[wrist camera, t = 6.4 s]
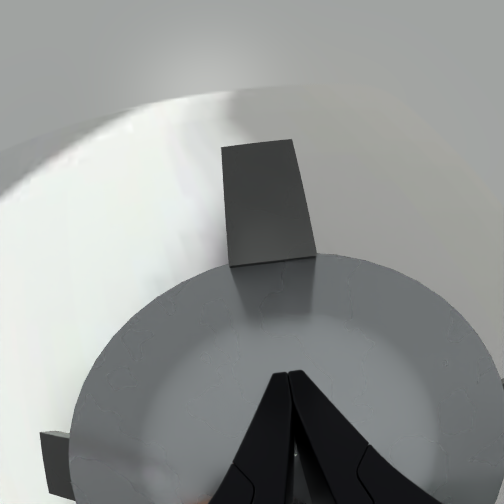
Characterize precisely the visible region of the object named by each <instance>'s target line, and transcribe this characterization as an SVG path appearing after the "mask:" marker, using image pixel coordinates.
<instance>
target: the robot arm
mask: <svg viewBox="0 0 504 504" xmlns="http://www.w3.org/2000/svg"><path fill="white" fill-rule="evenodd" d="M294 436H295V437H294ZM295 442H296V446H297V450H298V454H299V457H300V461H301V465H302V468H303V472H304V476H305V479H306V483H307V487H308V490H309V494H310V497H311V501H312V504H443V503H442V502H440V501H438V500H437V499H435V498H434V497H433V496H431V495H430V494H428V493H427V492H426V491H424V490H423V489H422V488H420V487H419V486H417V485H416V484H415V483H413V482H412V481H411V480H409V479H408V478H407V477H405V476H404V475H403V474H402V473H400V472H399V471H398V470H397V469H396V468H394V467H393V466H392V465H391V464H390V463H389V462H388V461H387V460H386V459H385V458H384V457H382V456H381V455H380V454H379V453H378V452H377V450H376V449H375V448H374V447H373V446H372V445H371V444H369V442H368V441H367V440H366V439H365V438H364V437H363V436H362V435H361V434H360V433H359V432H358V430H357V429H356V428H355V427H354V426H353V425H352V424H351V423H350V422H349V421H348V420H347V419H346V417H345V416H344V415H343V414H342V413H341V412H340V411H339V410H338V409H337V408H336V407H335V405H334V404H333V403H332V402H331V401H330V400H329V399H328V398H327V397H326V395H325V394H324V393H323V392H322V391H321V390H320V389H319V388H318V387H317V385H316V384H315V383H314V382H313V381H312V380H311V379H310V378H309V376H308V375H307V374H306V373H305V372H304V371H303V370H293V371H289V372H288V373H287V372H277V373H273V374H272V376H271V378H270V380H269V383H268V385H267V387H266V390H265V392H264V394H263V396H262V399H261V401H260V403H259V405H258V408H257V410H256V412H255V414H254V416H253V419H252V421H251V423H250V425H249V427H248V429H247V432H246V434H245V436H244V438H243V440H242V442H241V444H240V446H239V449H238V451H237V453H236V455H235V457H234V459H233V461H232V463H233V464H231V465H230V467H229V469H228V471H227V473H226V475H225V477H224V478H223V480H222V482H221V484H220V486H219V487H218V489H217V491H216V492H215V494H214V495H213V497H212V498H211V500H210V501H209V502H208V504H293V489H294V461H295Z"/></svg>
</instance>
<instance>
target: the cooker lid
mask: <svg viewBox="0 0 504 504" xmlns="http://www.w3.org/2000/svg"><path fill="white" fill-rule="evenodd" d="M221 151H222V169H223V186H224V202H225V217H226V231H227V246H228V259H229V264H227V265H224V266H220V267H217V268H214V269H211V270H208V271H206V272H204V273H202V274H199V275H197V276H195V277H193V278H190V279H188V280H186V281H184V282H182V283H180V284H178V285H177V286H175V287H173V288H172V289H170V290H168V291H167V292H165V293H163V294H162V295H160V296H158V297H157V298H155V299H154V300H153V301H152V302H150V303H149V304H148V305H147V306H145V307H144V308H143V309H141V310H140V311H139V312H138V313H136V314H135V315H134V316H133V317H132V318H131V319H130V320H129V321H128V322H127V323H126V324H125V325H124V326H123V327H122V328H121V329H120V330H119V331H118V332H117V333H116V334H115V335H114V336H113V338H112V339H111V340H110V342H109V343H108V344H107V346H106V347H105V348H104V350H103V351H102V352H101V354H100V355H99V357H98V358H97V359H96V361H95V363H94V365H93V367H92V369H91V370H90V372H89V374H88V376H87V378H86V380H85V382H84V384H83V386H82V389H81V392H80V395H79V397H78V400H77V403H76V406H75V409H74V414H73V419H72V424H71V429H70V438H69V468H70V477H71V484H72V488H73V492H74V496H75V500H76V504H208V502H209V501H210V500H211V498H212V497H213V495H214V494H215V492H216V491H217V489H218V487H219V486H220V484H221V482H222V480H223V478H224V477H225V475H226V473H227V471H228V469H229V467H230V465H231V464H233V463H232V461H233V459H234V457H235V455H236V453H237V451H238V449H239V446H240V444H241V442H242V440H243V438H244V436H245V434H246V432H247V429H248V427H249V425H250V423H251V421H252V419H253V416H254V414H255V412H256V410H257V408H258V405H259V403H260V401H261V399H262V396H263V394H264V392H265V390H266V387H267V385H268V383H269V380H270V378H271V376H272V374H273V373H277V372H287V373H288V372H289V371H293V370H303V371H304V372H305V373H306V374H307V375H308V376H309V378H310V379H311V380H312V381H313V382H314V383H315V384H316V385H317V387H318V388H319V389H320V390H321V391H322V392H323V393H324V394H325V395H326V397H327V398H328V399H329V400H330V401H331V402H332V403H333V404H334V405H335V407H336V408H337V409H338V410H339V411H340V412H341V413H342V414H343V415H344V416H345V417H346V419H347V420H348V421H349V422H350V423H351V424H352V425H353V426H354V427H355V428H356V429H357V430H358V432H359V433H360V434H361V435H362V436H363V437H364V438H365V439H366V440H367V441H368V442H369V444H371V445H372V446H373V447H374V448H375V449H376V450H377V452H378V453H379V454H380V455H381V456H382V457H384V458H385V459H386V460H387V461H388V462H389V463H390V464H391V465H392V466H393V467H394V468H396V469H397V470H398V471H399V472H400V473H402V474H403V475H404V476H405V477H407V478H408V479H409V480H411V481H412V482H413V483H415V484H416V485H417V486H419V487H420V488H422V489H423V490H424V491H426V492H427V493H428V494H430V495H431V496H433V497H434V498H435V499H437V500H438V501H440V502H442V503H443V504H495V502H496V499H497V496H498V493H499V490H500V487H501V484H502V481H503V478H504V390H503V386H502V382H501V379H500V376H499V374H498V371H497V369H496V367H495V364H494V362H493V360H492V357H491V355H490V354H489V352H488V350H487V349H486V347H485V345H484V344H483V342H482V340H481V339H480V337H479V336H478V334H477V333H476V332H475V330H474V329H473V328H472V327H471V326H470V324H469V323H468V322H467V321H466V320H465V319H464V317H463V316H462V315H461V314H460V313H459V312H458V311H457V310H455V309H454V308H453V307H452V306H451V305H450V304H449V303H448V302H446V301H445V300H444V299H443V298H442V297H441V296H439V295H438V294H436V293H435V292H433V291H432V290H430V289H429V288H427V287H426V286H424V285H423V284H421V283H420V282H418V281H416V280H414V279H412V278H410V277H408V276H406V275H403V274H401V273H399V272H397V271H395V270H393V269H390V268H387V267H384V266H381V265H378V264H375V263H372V262H369V261H366V260H361V259H356V258H350V257H345V256H340V255H334V254H318V253H317V252H316V247H315V242H314V237H313V232H312V227H311V222H310V217H309V212H308V208H307V203H306V198H305V194H304V189H303V184H302V180H301V176H300V171H299V167H298V163H297V158H296V154H295V150H294V146H293V142H292V139H289V140H279V141H269V142H260V143H251V144H243V145H235V146H228V147H221ZM294 437H295V436H294ZM293 504H312V501H311V497H310V494H309V490H308V487H307V483H306V479H305V476H304V472H303V468H302V465H301V461H300V457H299V454H298V450H297V446H296V442H295V461H294V489H293Z"/></svg>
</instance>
